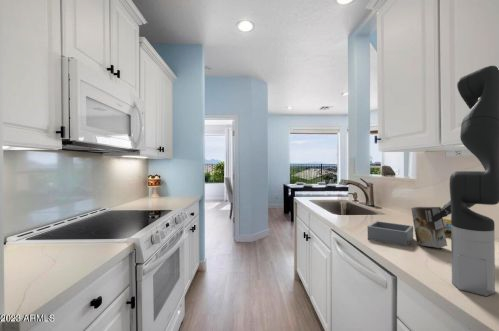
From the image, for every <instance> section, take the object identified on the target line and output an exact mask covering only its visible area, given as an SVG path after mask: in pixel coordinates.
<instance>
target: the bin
mask: <svg viewBox="0 0 499 331" xmlns="http://www.w3.org/2000/svg"><path fill="white" fill-rule="evenodd" d="M367 239H368V240H370V241H377V242H382V243H388V244H392V245H399V246H403V247H409V244H411V242H412V241H413V240H414V225H410V224H409V225H407V224H400V223H393V222H386V221H379V220H376V221H374V222H373V223H370V224H369V225H368V226H367Z"/></svg>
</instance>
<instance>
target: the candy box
mask: <svg viewBox="0 0 499 331" xmlns="http://www.w3.org/2000/svg"><path fill="white" fill-rule="evenodd" d="M442 219H443V225H444V230H445V236H447V237H451V218H446V217H443V218H442Z"/></svg>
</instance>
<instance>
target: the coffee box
mask: <svg viewBox="0 0 499 331" xmlns="http://www.w3.org/2000/svg"><path fill="white" fill-rule="evenodd" d="M441 208H442V207H440V206H414V207H411V214H412V215H411V216H412V222H413V229H414V234H415V240H416V241H415V242H416V244H417V246H424V247H431V248H437V249H438V248H443V247H448V242H447V238H446V235H445V230H444V225H443V219H442V218H441V219H440V220H438V221H437V222H434V221H433V220H432V219H431V217H433V216H434V215H436V214H437V213H438V212H439V211H441Z"/></svg>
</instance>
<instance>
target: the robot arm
mask: <svg viewBox="0 0 499 331" xmlns="http://www.w3.org/2000/svg"><path fill="white" fill-rule="evenodd" d="M497 67H498V66H496V65H489V66H486V67H482V68H479V69H477V70H476V71H475V70H474V71H473V72H471V73H468V74H467V75H464V76H461V77H460V78H459V79H458V80H457V83H456V88H457V90H458V93H459V95H460V97H461V98H462V100H463V102H465V105H466V106H467V107H468V109H469V110H468V112H467V113H466V114H465V115H464V117H463V119H462V121H461V124H460V136H459V138H460V141H461V143H462V144H463V146H464V147H465V148H466V149H467V150H468V151H469V152H470V153H471V154H473V156H475V158H476V159H477V160H478V161H479V162H480V164H481V166H482V167H483V169H484V170H483V171H475V170H473V171H469V170H468V171H465V170H464V171H463V170H462V171H460V170H459V171H457V170H456V171H454V172H452V173H451V174H450V177H449V196H450V200H448V202H447V203H445V204H444V205H443V206H442V207H441V211H439V212H438V213H437V214H436V215H434V216H433V217H431V219H432V220H433V221H434V222H437V221H438V220H440V219H441V218H446V217H448V216H449V215H450V219H451V239H450V240H451V242H450V243H451V244H450V245H451V246H450V248H451V283H452V285H454V286H455V287H457V290H461V291H464V292H469V293H473V294H477V295H480V296H485V297H489V296H490V295H494V294H495V293H496V270H495V269H496V265H495V264H496V258H495V256H496V255H495V251H496V250H495V249H496V248H495V243H496V242H495V238H496V237H495V236H496V235H495V232H496V231H495V227H496V226H495V225H496V224H495V221H494V220H493V219H492V218H490V217H488V216H486V215H483V214H480V213H478V212H476V211H474V210H472V209H470V208H472V207H474V206H475V205H485V206H486V205H487V206H488V205H489V206H490V205H491V206H495V205H497V204H499V70H498V68H499V67H498V68H497ZM478 98H479V100H478Z"/></svg>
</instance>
